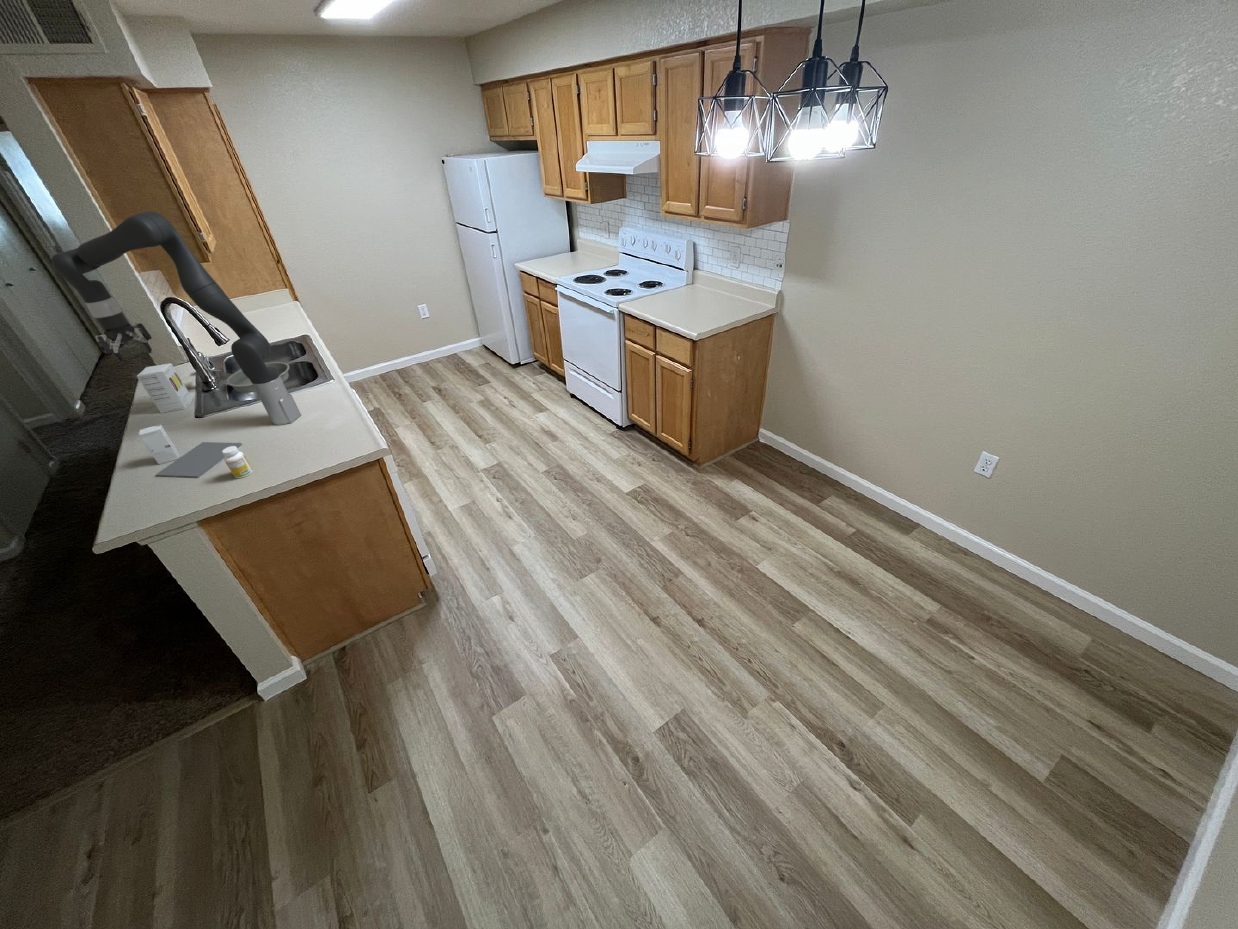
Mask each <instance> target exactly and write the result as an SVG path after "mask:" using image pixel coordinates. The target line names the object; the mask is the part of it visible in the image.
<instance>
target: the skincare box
mask: <svg viewBox="0 0 1238 929" xmlns="http://www.w3.org/2000/svg"><path fill="white" fill-rule="evenodd" d="M138 436H139V438H140V440H141V441H142V442H143V443H144V445H145V447H146V448H147V450H148V451H149V452H150V454H151V456H152V457H153V459H154V460H155V461H156V463H157V464H158V465H161V464H164V463H169V462H174V461H176V460H177V459H179V458H180V452H179V451H178V449H177V447H176V446H175V444H174V443H173V442H172V440H171V438H170V436H169V435H168V433H167V432H166V430H165V428H164V427H163V425H162V424H157V425H154V426H149V427H145V428H142V429H140V430H139V432H138Z"/></svg>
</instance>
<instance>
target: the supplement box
mask: <svg viewBox="0 0 1238 929" xmlns="http://www.w3.org/2000/svg"><path fill="white" fill-rule="evenodd" d="M180 377H181V376H180V375H179V374H178V373H177V371H176V369H175V367H174V365H173V364H172V363H164V364H159V365H152V366H145V368H144V369H143V370H141V372H139V373H138V374H137V375H136V378H137V379H138V380H139V382H140V383H141V385H142V386H143V388H144V390H145V391H146V393H147V394H148V396H149V398H150V399H151V401H152V402H153V404H154V405H155V406H156V408H157V409H158V410H159V412H160V413H161V414H164V413H169V412H173V411H174V412H175V411H176V412H177V411H180V410H186V409H187V408H188V406H189V405H190V404H191V403H192V402H193V400H194V398H193V397H192V395H191V393H190V392H189V390H188V388H187V387H186V385H185V384H184V382H183V380H182V378H180Z"/></svg>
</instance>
